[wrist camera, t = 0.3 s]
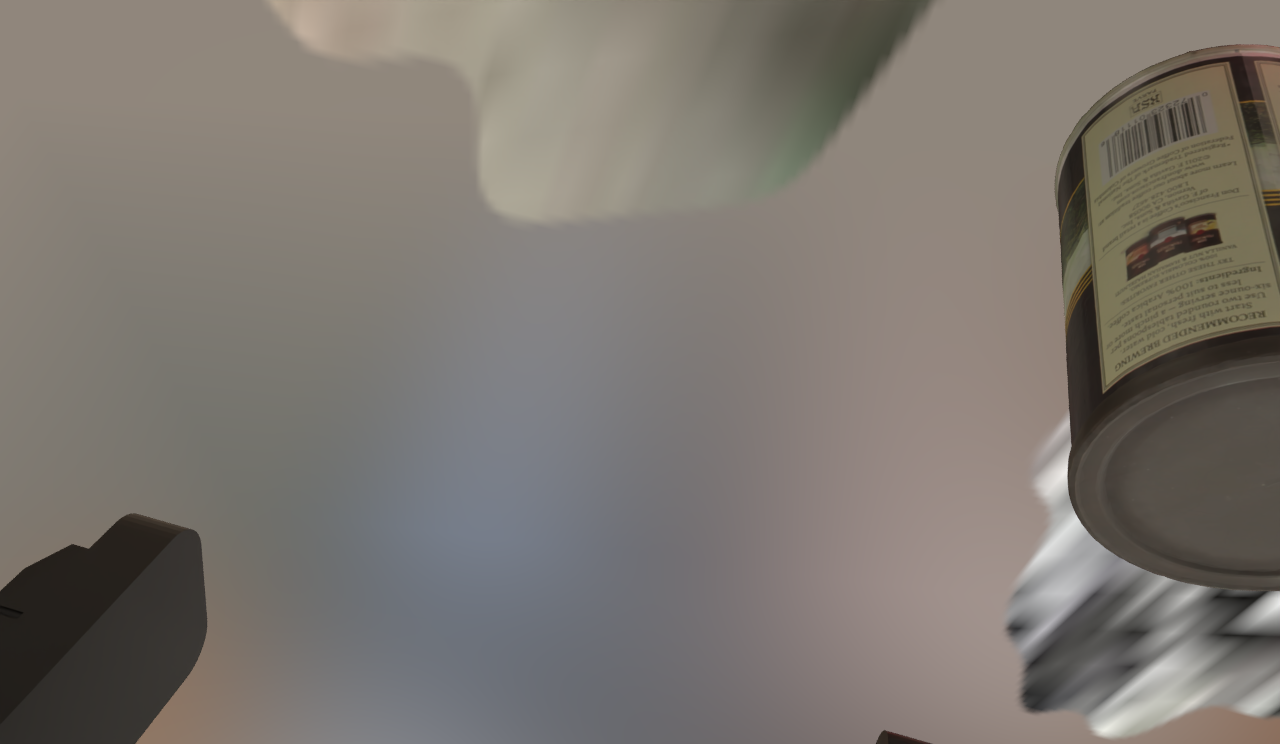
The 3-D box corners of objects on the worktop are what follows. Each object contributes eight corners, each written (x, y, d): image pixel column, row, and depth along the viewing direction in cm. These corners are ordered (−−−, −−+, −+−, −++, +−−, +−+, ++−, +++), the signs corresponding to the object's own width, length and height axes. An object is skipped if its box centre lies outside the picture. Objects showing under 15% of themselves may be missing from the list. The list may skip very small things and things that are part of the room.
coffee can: (1225, 317, 43) (1284, 632, 34) (997, 211, 42) (993, 508, 32) (1462, 124, 35) (1623, 465, 26) (1191, -13, 34) (1258, 293, 25)
